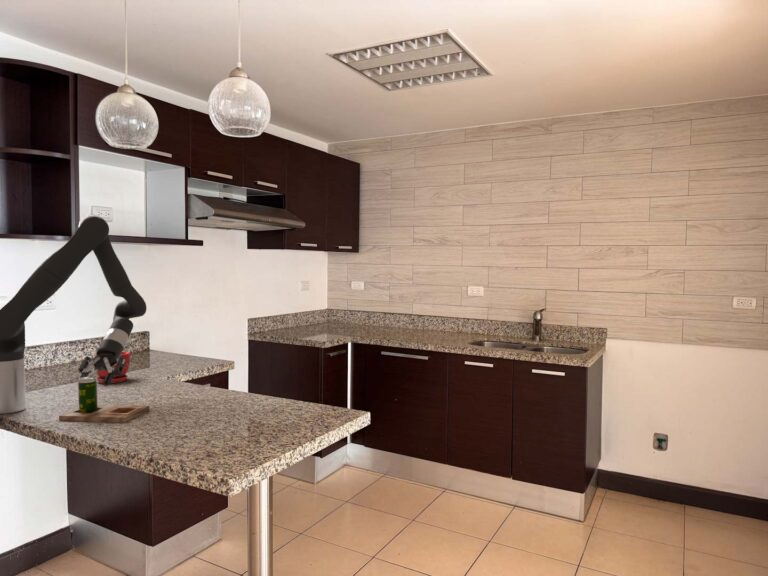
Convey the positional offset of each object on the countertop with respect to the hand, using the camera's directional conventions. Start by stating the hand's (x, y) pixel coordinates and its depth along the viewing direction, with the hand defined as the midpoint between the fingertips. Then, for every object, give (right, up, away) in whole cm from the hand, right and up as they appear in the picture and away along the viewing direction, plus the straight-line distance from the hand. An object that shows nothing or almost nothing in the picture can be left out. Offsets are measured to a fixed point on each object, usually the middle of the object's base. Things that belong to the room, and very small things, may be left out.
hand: (93, 384), depth 181 cm
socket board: (+6, -9, -3) cm, 11 cm away
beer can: (0, -10, -2) cm, 10 cm away
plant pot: (-17, -7, +48) cm, 52 cm away
